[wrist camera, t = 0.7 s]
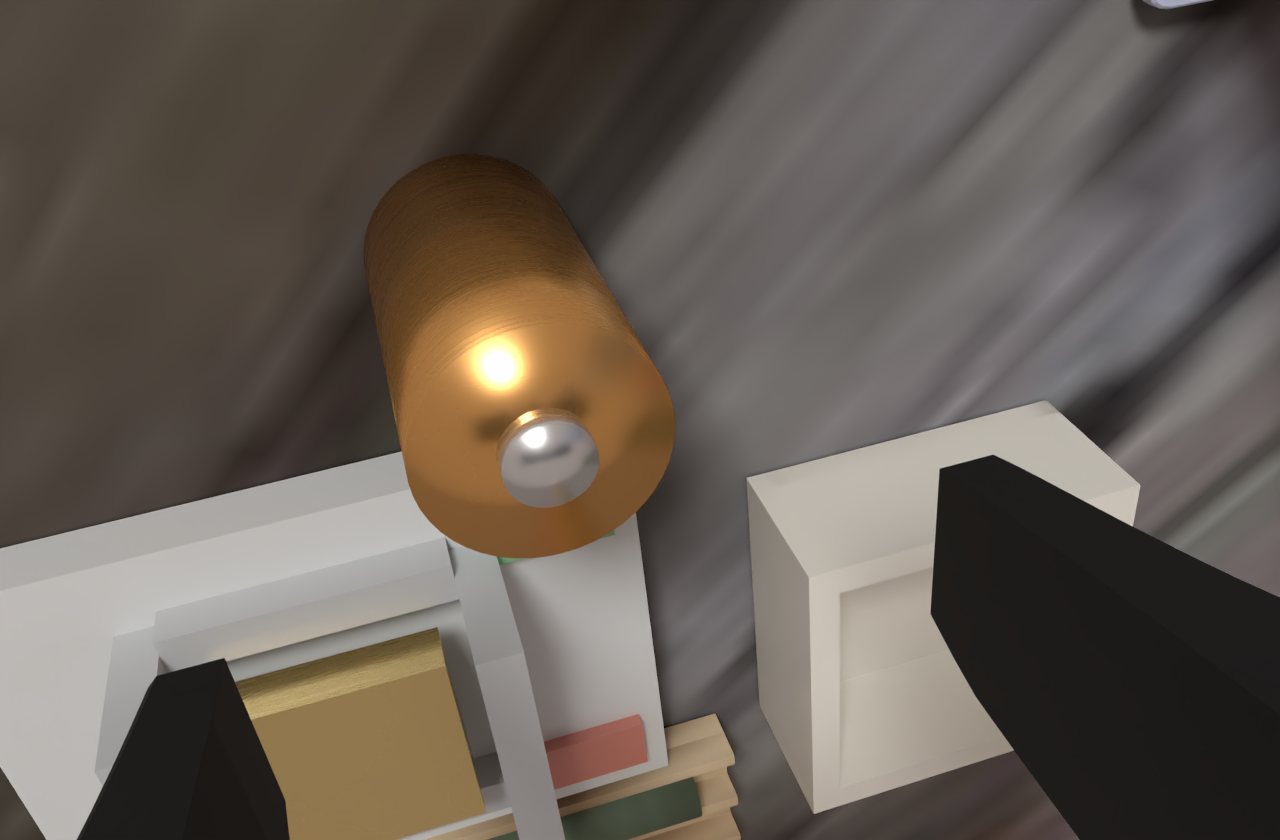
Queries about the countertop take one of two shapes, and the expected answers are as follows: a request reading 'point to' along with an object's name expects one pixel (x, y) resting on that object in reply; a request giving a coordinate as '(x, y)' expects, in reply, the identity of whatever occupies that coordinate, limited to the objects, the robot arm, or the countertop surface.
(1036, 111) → the countertop surface
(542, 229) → the cell
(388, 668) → the pad
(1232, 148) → the countertop surface
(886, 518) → the white square open box
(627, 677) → the white compartment tray
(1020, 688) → the robot arm
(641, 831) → the trough
